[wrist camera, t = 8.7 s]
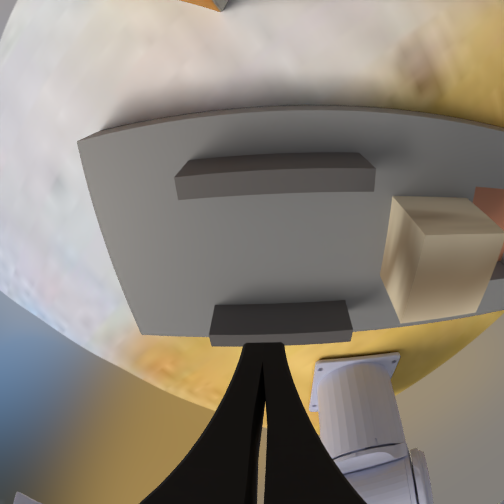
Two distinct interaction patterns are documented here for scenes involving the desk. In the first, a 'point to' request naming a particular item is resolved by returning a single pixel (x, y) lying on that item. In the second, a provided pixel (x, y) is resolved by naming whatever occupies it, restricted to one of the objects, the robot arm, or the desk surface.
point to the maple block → (438, 256)
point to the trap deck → (278, 214)
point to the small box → (209, 4)
